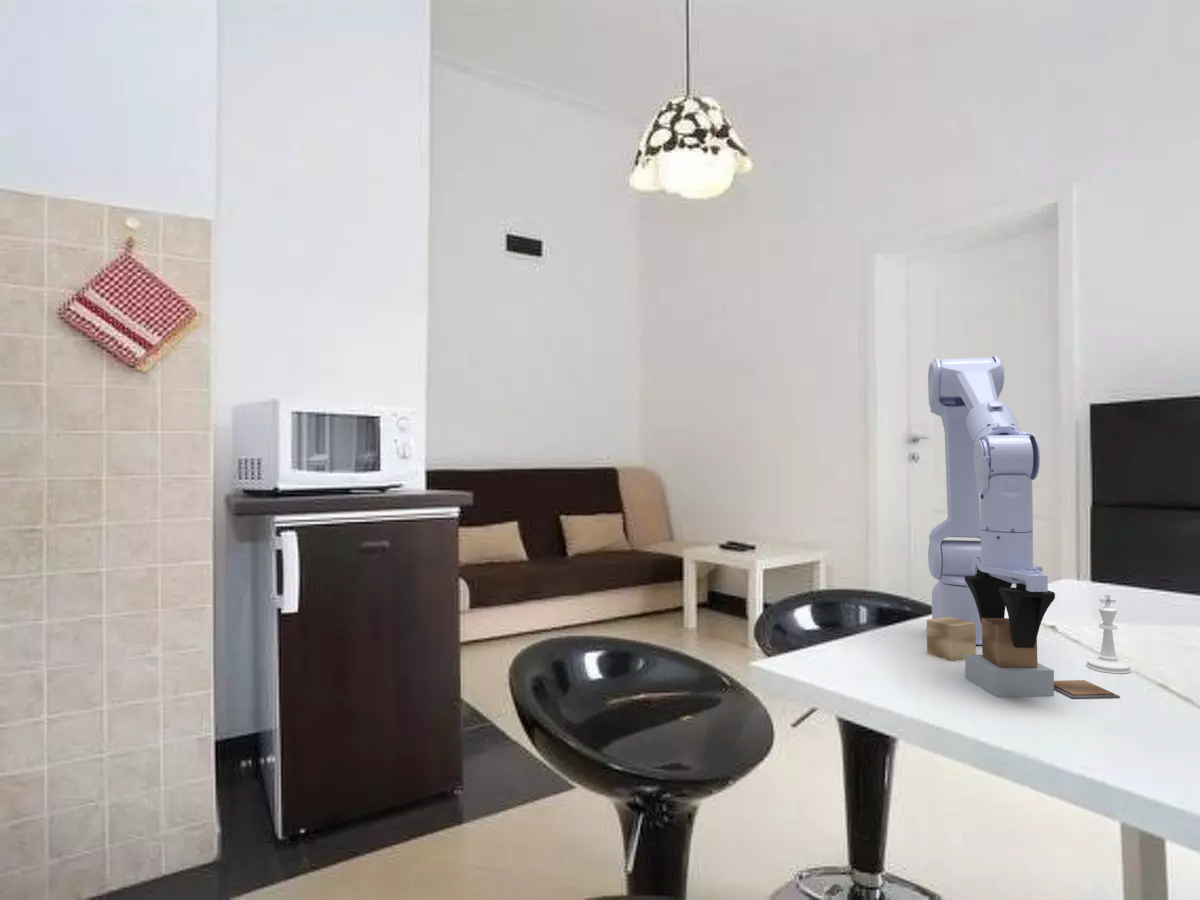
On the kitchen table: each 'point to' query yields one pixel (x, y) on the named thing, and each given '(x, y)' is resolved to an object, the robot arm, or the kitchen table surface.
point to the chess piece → (1108, 643)
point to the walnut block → (1004, 645)
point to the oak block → (951, 638)
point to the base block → (1009, 678)
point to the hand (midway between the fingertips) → (1007, 638)
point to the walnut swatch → (1082, 689)
